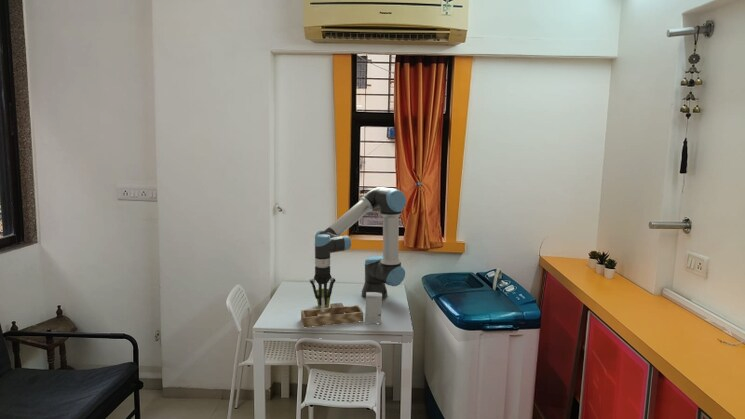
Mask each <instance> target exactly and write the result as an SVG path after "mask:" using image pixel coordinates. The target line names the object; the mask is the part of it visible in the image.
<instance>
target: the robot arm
mask: <svg viewBox="0 0 745 419" xmlns="http://www.w3.org/2000/svg"><path fill="white" fill-rule="evenodd" d="M406 204H407V199H406V195H405V194H404V193H403V191H402V190H399V189H396V188H390V187H384V186H383V187H382V186H380V187H379V186H377V187H375V188H372V189H371V190H368V192H365V194H364V195H362V196H361V197H360V198H359V201H358V202H357V203H355V204H354V205H353V206H351V208H349V209H348V210H347V211H346V212H345V213H344V214H342V215H341V216H340V217H339V218H338V219H336V220H335V221H334V222H333V223H332V224H330V225H329V226H328V227H327V228H326V229H324V230H318V231H317V232H316V234H315V235H314V266H315V267H314V276H313V278H311V279H309V283H310V284H311V287H312V292H313V294H314V297H315V299H316V300H317V299H319V305H321V308H320V309H321V312H325V305H326V304H327V298H330V299H331V296H332V293H333V289H334V288H333V287H334V285H335V282H336V278H335V277H333V276H332V275H331V254H333V253H337V252H338V253H339V252H345V251H348V250H350V249H351V246H352V239H351V238H350V236H348V235H343V234H344V233H345V232H346V231H347V230H349V229H350V228H351V227H352V226H353V225H354V224H356V223H358V221H359V220H360V219H362V217H363V216H365V215H366V214H367V213H369V212H370V213H371V212H372V211H374V210H375V209H379V212H380V214H379V215H381V216H382V256H381V255H379V256H378V255H377V256H370V257H367V258H366V259H365V261H364V284H363V286H362V289H361V297H363V298H364V299H366V292H376V293H382V300H383V299H385V298H387V297H388V288H387V287H386V286H391V287H398V286H400V285H401V284H402V283H403V281H404V280H405V277H406V270H405V268H404V267H403V266H402V261H401V259H400V258H399V238H400V236H399V233H400V232H399V231H400V230H399V221H400V216H401V215H402V211H403V210H404V209H405V207H406ZM329 282H330V283H329ZM315 283H317V284H318V289H319V296H318V295H317V291H316V290H317V288H316V285H315ZM328 283H329V286H328ZM322 286H323V288H322ZM322 289H324V298H322ZM327 289H328V294H327ZM331 292H332V293H331Z"/></svg>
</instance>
